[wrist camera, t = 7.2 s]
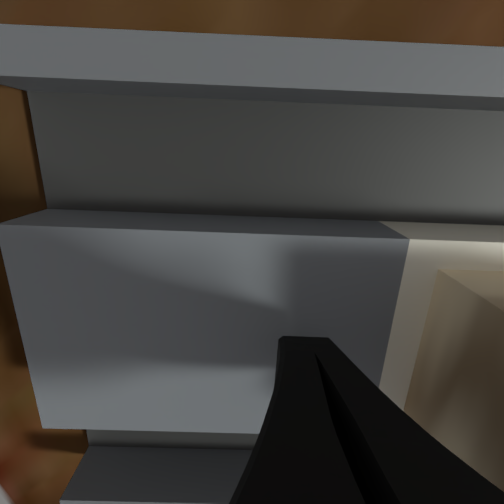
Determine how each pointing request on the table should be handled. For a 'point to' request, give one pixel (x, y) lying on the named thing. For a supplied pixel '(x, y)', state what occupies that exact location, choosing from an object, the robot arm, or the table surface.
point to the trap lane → (234, 230)
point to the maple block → (463, 370)
